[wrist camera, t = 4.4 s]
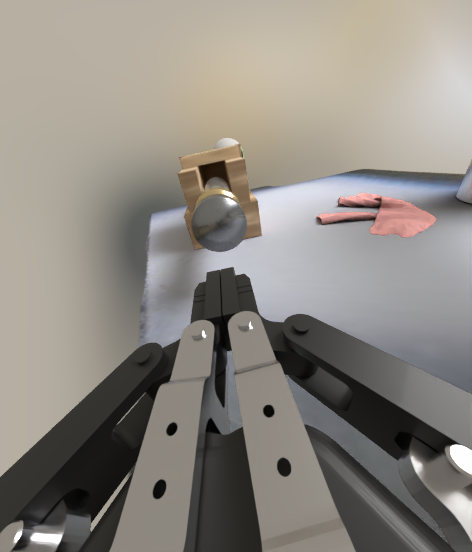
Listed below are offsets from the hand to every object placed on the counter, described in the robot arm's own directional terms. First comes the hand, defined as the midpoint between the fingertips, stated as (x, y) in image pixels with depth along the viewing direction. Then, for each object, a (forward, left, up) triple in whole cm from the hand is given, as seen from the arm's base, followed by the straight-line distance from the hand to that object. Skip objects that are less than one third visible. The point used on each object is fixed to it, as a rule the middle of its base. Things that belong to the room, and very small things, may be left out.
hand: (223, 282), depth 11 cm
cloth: (-35, -1, -9) cm, 36 cm away
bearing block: (-22, -21, -8) cm, 31 cm away
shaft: (-13, -13, -3) cm, 18 cm away
